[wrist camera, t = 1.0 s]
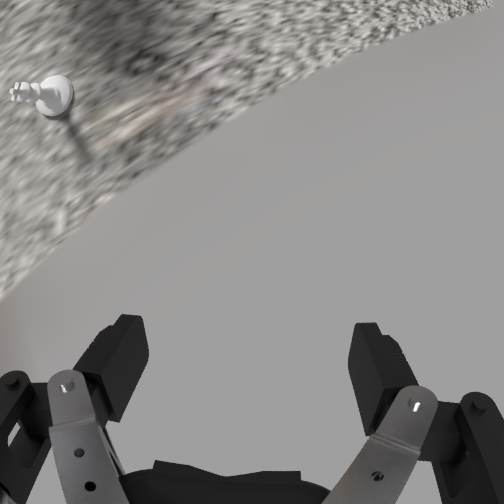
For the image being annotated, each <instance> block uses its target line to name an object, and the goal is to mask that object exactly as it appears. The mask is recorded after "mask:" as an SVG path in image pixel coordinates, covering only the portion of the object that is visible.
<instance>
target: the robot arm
mask: <svg viewBox="0 0 504 504" xmlns="http://www.w3.org/2000/svg"><path fill="white" fill-rule="evenodd" d="M148 357H149V349H148V343H147V339H146V334H145V328H144V323H143V319H142V317H141V316H138V315H127V314H122V315H121V316H120V317H119V318H118V320H117V321H116V322H115V324H114V325H113V326H112V325H110V326H108V327H106V328H105V329H103V330H102V331H100V332H99V334H98V335H97V336H96V338H95V339H94V342H92V343H91V344H90V346H89V348H87V350H86V351H85V352H84V354H83V355H82V357H81V358H80V359H79V361H78V362H77V363H76V365H75V366H74V368H73V369H72V370H63V371H60V372H58V373H56V374H55V375H53V376H52V377H51V378H50V380H49V381H48V383H31V381H30V379H29V377H28V375H27V374H26V373H25V372H23V371H11V372H8V373H6V374H4V375H3V376H2V377H1V378H0V504H26V501H27V499H28V497H29V494H30V492H31V490H32V487H33V485H34V483H35V481H36V478H37V476H38V474H39V472H40V470H41V467H42V465H43V463H44V461H45V459H46V457H47V455H48V452H49V450H50V448H51V446H52V449H53V454H54V458H55V463H56V467H57V471H58V475H59V479H60V482H61V486H62V490H63V493H64V496H65V500H66V503H67V504H395V503H396V501H397V499H398V497H399V495H400V494H401V492H402V490H403V488H404V486H405V484H406V482H407V481H408V479H409V476H410V475H411V473H412V471H413V469H414V466H415V464H416V462H417V460H419V461H431V463H432V466H433V470H434V474H435V477H436V481H437V485H438V488H439V492H440V496H441V501H442V504H504V419H503V417H502V415H501V413H500V412H499V410H498V408H497V406H496V404H495V403H494V401H493V400H492V399H491V398H490V397H489V396H487V395H486V394H483V393H480V392H470V393H468V394H466V395H464V396H463V398H462V400H461V402H460V403H450V402H442V401H438V400H437V397H436V396H435V394H434V393H433V392H432V391H430V390H429V389H427V388H425V387H422V386H419V384H418V382H417V380H416V378H415V376H414V374H413V372H412V370H411V368H410V366H409V364H408V362H407V361H406V358H405V356H404V354H402V350H401V348H400V346H399V344H398V343H397V342H396V341H395V340H394V339H393V338H392V337H390V336H389V335H382V333H381V332H380V329H379V327H378V325H377V323H375V322H374V323H356V324H355V327H354V332H353V337H352V342H351V347H350V352H349V357H348V370H349V374H350V378H351V381H352V385H353V389H354V392H355V396H356V400H357V404H358V408H359V411H360V415H361V419H362V423H363V427H364V431H365V435H366V436H370V437H369V439H368V440H367V442H366V443H365V445H364V446H363V448H362V449H361V451H360V452H359V454H358V455H357V457H356V458H355V460H354V461H353V463H352V464H351V465H350V467H349V468H348V470H347V471H346V472H345V474H344V475H343V476H342V478H341V479H340V480H339V482H338V483H337V484H336V486H335V487H334V488H333V490H332V491H330V490H328V489H326V488H324V487H322V486H320V485H317V484H314V483H311V482H307V481H302V480H301V472H300V471H261V472H255V473H249V474H243V475H236V476H228V477H225V476H220V475H217V474H214V473H211V472H207V471H204V470H201V469H198V468H195V467H193V466H190V465H183V464H176V463H169V462H164V461H158V460H155V462H154V465H153V469H147V470H139V471H135V472H131V473H128V474H125V472H124V470H123V468H122V466H121V463H120V461H119V459H118V456H117V454H116V452H115V449H114V447H113V445H112V442H111V440H110V437H109V434H108V432H107V429H106V427H105V426H106V423H107V421H108V420H110V421H114V422H118V423H119V422H120V420H121V418H122V415H123V413H124V411H125V409H126V407H127V405H128V402H129V400H130V398H131V396H132V394H133V391H134V390H135V388H136V385H137V383H138V381H139V379H140V377H141V375H142V373H143V371H144V369H145V367H146V364H147V362H148ZM16 423H18V425H19V426H20V429H19V431H18V432H17V434H16V436H15V437H14V439H13V441H12V443H11V444H10V446H9V447H8V436H9V434H10V433H11V431H12V429H13V427H14V426H15V424H16Z"/></svg>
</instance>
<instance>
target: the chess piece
mask: <svg viewBox="0 0 504 504" xmlns="http://www.w3.org/2000/svg"><path fill="white" fill-rule="evenodd" d="M9 93H11V94H12V97H11V100H13V101H17V102H24V101H27V102H28V103H36V106H37V109H38V110H39V111H40V112H41V113H42V114H44V115H46V116H57V115H59V114H61V113H62V112H64V111H65V110H66V109H67V107H68V106H69V104H70V102H71V100H72V96H73V88H72V85H71V82H70V81H69V80H68V79H67V78H66V77H64V76H61V75H55V76H51V77H48V78H47V79H45V80H44V81H43V82H42V83H41V84H40V85H39V84H38V83H33V84H29V83H27V82H21V83H18V82H16V84H15V87H14V89H10V92H9Z"/></svg>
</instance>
